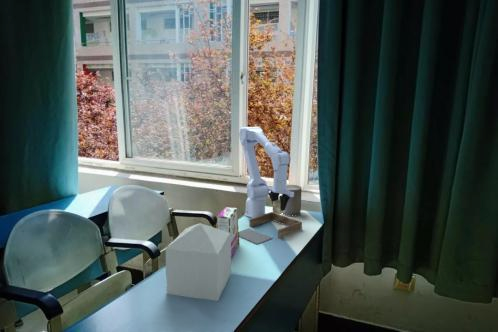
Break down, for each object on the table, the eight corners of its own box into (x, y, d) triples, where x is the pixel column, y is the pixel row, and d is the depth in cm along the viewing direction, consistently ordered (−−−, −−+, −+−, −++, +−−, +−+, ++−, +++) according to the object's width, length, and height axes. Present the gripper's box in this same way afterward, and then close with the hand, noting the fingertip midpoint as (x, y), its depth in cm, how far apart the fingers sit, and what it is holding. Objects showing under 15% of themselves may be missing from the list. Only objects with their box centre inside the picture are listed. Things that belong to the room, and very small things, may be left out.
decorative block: (231, 273, 116) (231, 216, 112) (218, 301, 100) (218, 235, 96) (185, 268, 118) (184, 212, 115) (165, 294, 103) (163, 230, 99)
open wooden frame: (249, 226, 158) (249, 219, 157) (271, 218, 168) (271, 211, 167) (279, 238, 145) (280, 230, 144) (301, 229, 155) (302, 221, 155)
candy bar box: (224, 246, 136) (225, 206, 133) (237, 248, 135) (237, 207, 132) (216, 259, 125) (216, 216, 122) (230, 261, 124) (230, 217, 121)
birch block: (272, 212, 156) (272, 201, 155) (278, 210, 159) (278, 199, 158) (279, 214, 154) (279, 203, 153) (285, 212, 156) (285, 201, 155)
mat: (233, 234, 148) (233, 233, 148) (248, 229, 154) (248, 228, 154) (257, 244, 138) (257, 243, 138) (272, 238, 145) (272, 237, 145)
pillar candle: (301, 211, 180) (302, 183, 177) (299, 217, 171) (300, 187, 168) (282, 209, 182) (283, 181, 179) (279, 215, 173) (280, 186, 170)
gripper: (261, 177, 156) (261, 207, 158) (287, 184, 146) (285, 215, 148) (272, 175, 161) (271, 203, 163) (297, 181, 151) (296, 211, 153)
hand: (279, 209), depth 156 cm, fingers closed on birch block, 4 cm apart
